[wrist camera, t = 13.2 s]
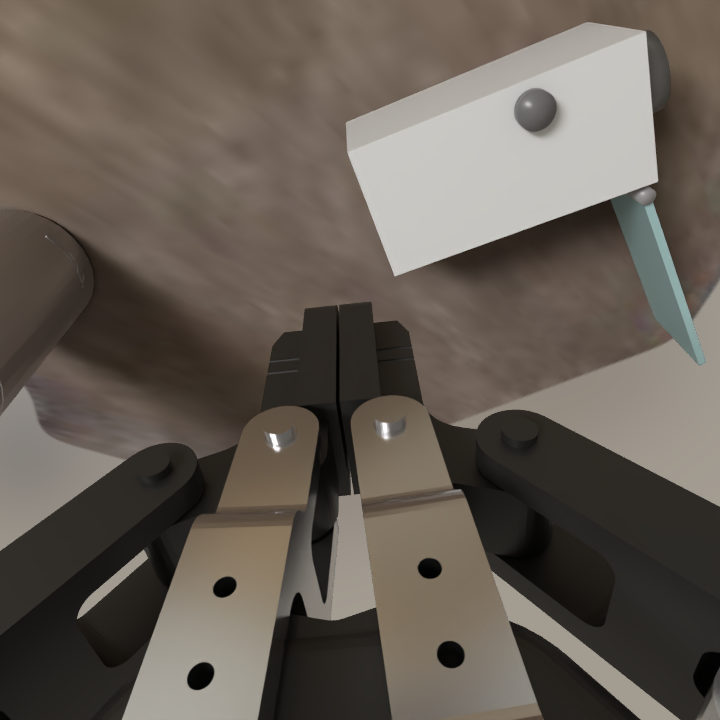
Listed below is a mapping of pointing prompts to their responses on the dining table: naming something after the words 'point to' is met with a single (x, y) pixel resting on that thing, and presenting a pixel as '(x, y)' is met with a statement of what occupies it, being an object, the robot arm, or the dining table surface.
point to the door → (656, 267)
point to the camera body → (512, 143)
